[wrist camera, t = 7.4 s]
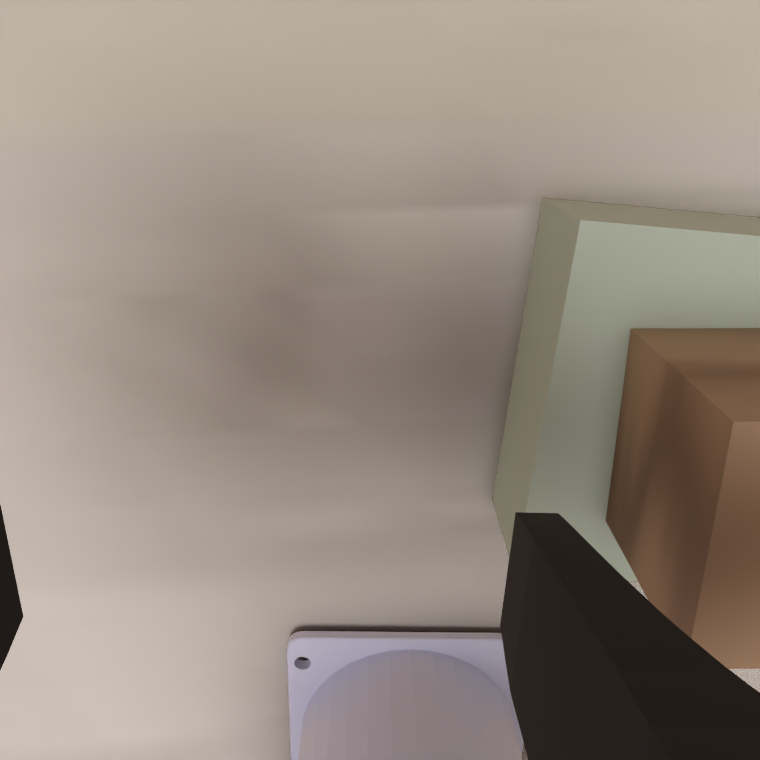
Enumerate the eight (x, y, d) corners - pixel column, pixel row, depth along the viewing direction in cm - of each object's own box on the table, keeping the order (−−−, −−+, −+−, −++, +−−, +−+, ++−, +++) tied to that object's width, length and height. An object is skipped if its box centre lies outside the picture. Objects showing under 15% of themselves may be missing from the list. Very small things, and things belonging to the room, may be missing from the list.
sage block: (774, 514, 23) (853, 596, 19) (490, 493, 22) (514, 573, 19) (870, 226, 19) (989, 256, 16) (539, 195, 19) (580, 219, 15)
